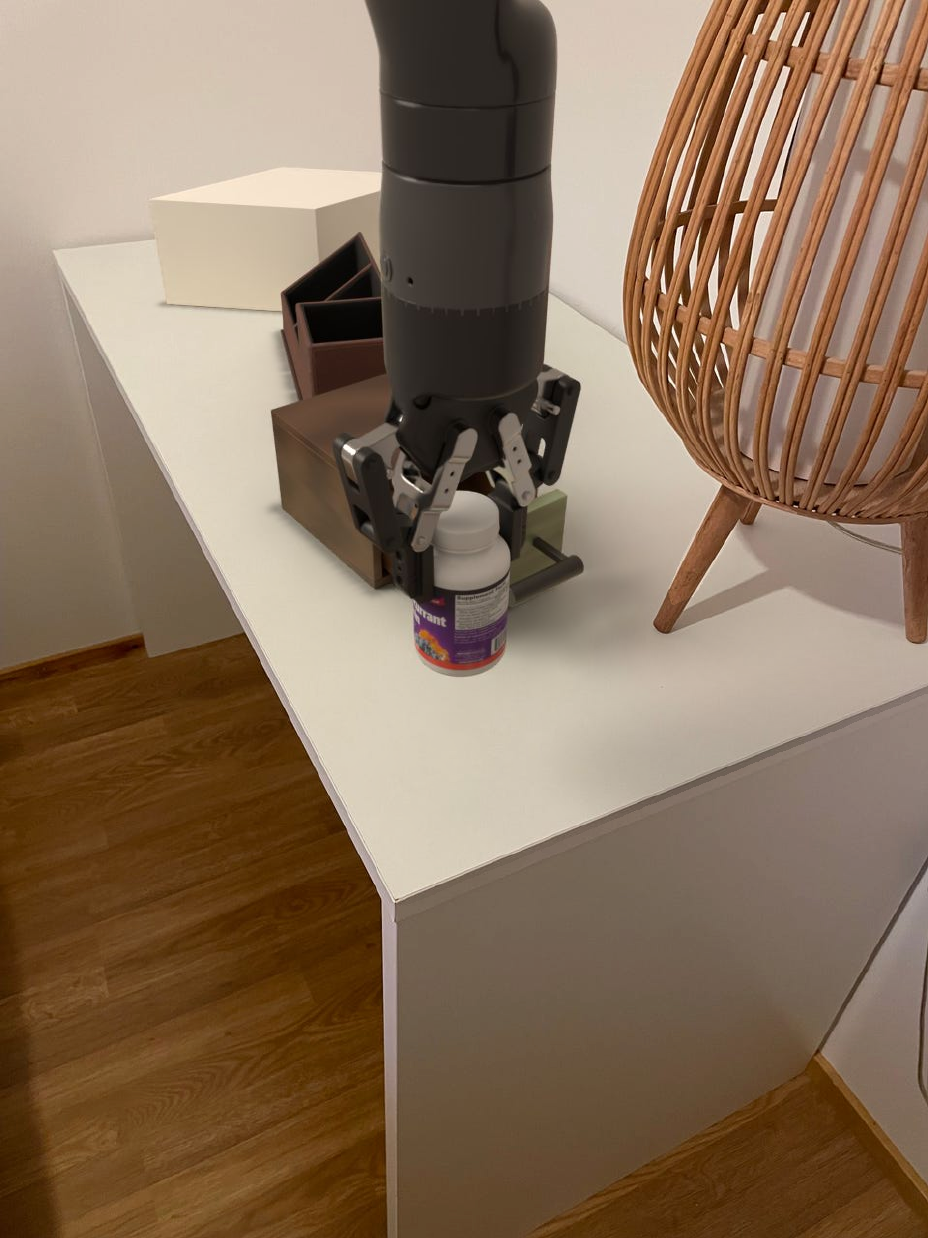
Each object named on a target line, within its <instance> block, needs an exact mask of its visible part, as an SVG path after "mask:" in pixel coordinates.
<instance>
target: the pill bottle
mask: <svg viewBox="0 0 928 1238" xmlns="http://www.w3.org/2000/svg"><path fill="white" fill-rule="evenodd" d="M498 532H499V510H498V507H497V505H496V504H495V503H494V502H493V501H492V500H491V499H490V498H488V497H486V496H484V495H482V494H479V493H476V492H470V491H456V492H455V495H454V498H453V501H452V504H451V507H450V509H449V510H447V511H443V512H442V513H441V514H440V517H439V520H438V523H437V526H436V529H435V532H434V535H433V538H432V541H431V543H430V544H431V545H432V546H434V599H433V600H431V601H429V602H427V603H425V604H423V605H420V604H418V603H417V602H416V601H415V600H413V599H412V610H413V611H412V612H413V613H412V614H413V620H412V621H413V643H414V650H415V654H416V656H417V658H419V660H420V662H421V663H422V664H423V665H425V666H426V667H427V668H428V669H429V670H431V671H433V672H435V673H437V674H440V675H443V676H447V677H451V678H466V677H467V678H468V677H469V678H470V677H475V676H478V675H482V674H484V673H487V672H488V671H490V670H491V669H493V668H494V667H496V666H497V665H498V664H499V663H500V661H501V660H502V659H503V657H504V654H505V652H506V647H507V638H508V637H507V634H508V619H509V618H508V617H509V605H508V599H509V580H510V550H509V548H508V545H507V543H506V542H505V540H504V539H503V538H502V537H501V536H500V535H499V534H498Z"/></svg>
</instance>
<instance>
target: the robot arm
mask: <svg viewBox="0 0 928 1238" xmlns="http://www.w3.org/2000/svg"><path fill="white" fill-rule="evenodd" d="M363 1H364V4H365V8H366V11H367V14H368V18H369V21H370V24H371V27H372V32H373V35H374V39H375V43H376V47H377V53H378V55H377V56H378V99H379V100H378V101H379V129H380V150H381V151H380V153H381V172H382V178H381V190H380V200H379V249H380V272H381V299H382V322H383V346H384V363H385V367H386V371H387V375H388V378H389V382H390V386H391V398H390V402H389V405H388V408H387V410H386V413H385V416H384V424H383V425H381V426H379V427H377V428H376V429H374V430H372V431H370V432H369V433H367V434H365V435H363V436H362V437H360V438H358V439H357V438H356V437H354V436H353V435H351V434H350V433H347V432H346V433H341V434H340V435H338V436H337V437H336V439H335V440H334V442H333V446H332V449H333V453H334V456H335V460H336V463H337V466H338V470H339V473H340V477H341V480H342V484H343V487H344V490H345V494H346V497H347V501H348V504H349V507H350V511H351V514H352V518H353V521H354V525H355V528H356V530H357V531H359V532H360V533H361V534H362V535H363V536H365V537H366V538H367V539H368V540H370V541H371V542H372V543H373V544H374V545H376V546H377V547H378V548H379V549H381V550H382V551H383V552H384V553H386V554H392V565H393V566H392V571H393V581H392V582H393V583H394V585H395V587H396V588H398V589H399V590H400V591H401V592H402V593H403V594H404V595H406V596H407V597H408V598H410V600H412V601H413V600H415V601H416V602H417V603H418V604H420V605H423V604H425V603H427V602H429V601H431V600H433V599H434V546H432V545H431V544H430V543H431V541H432V538H433V535H434V532H435V529H436V526H437V523H438V520H439V517H440V514H441V513H442V512H443V511H447V510H449V509H450V507H451V504H452V501H453V498H454V495H455V492H456V489H457V486H458V484H459V482H462V481H464V480H465V479H466V478H468V477H469V476H471V475H472V474H474V473H476V472H486V474H487V477H488V479H489V482H490V484H491V486H492V487H494V488H495V491H494V492H492V493H490V494H487V497H488V498H490V499H491V500H492V501H493V502H494V503H495V504H496V505H497V507H498V510H499V532H498V534H499V535H500V536H501V537H502V538H503V539H504V540H505V542H506V543H507V545H508V548H509V550H510V564H511V563H513V562H515V561H517V560H519V559H520V552H521V549H522V548H523V545H524V542H525V540H526V524H527V508H528V505H529V504H530V503H531V502H532V501H533V499H534V497H535V494H536V489H537V488H538V489H539V488H540V487H542V485H545V486H548V487H551V486H553V485H555V484H556V483H557V482H558V481H559V479H560V477H561V475H562V469H563V466H564V462H565V457H566V453H567V450H568V449H567V448H568V445H569V442H570V441H569V440H570V436H571V432H572V428H573V424H574V420H575V415H576V411H577V407H578V402H579V398H580V394H581V390H582V385H581V382H580V381H579V380H577V379H575V378H573V377H572V376H570V375H569V374H567V373H565V372H563V371H561V370H559V369H557V368H554V367H552V366H550V365H548V364H547V363H545V353H546V352H545V351H546V337H547V323H548V308H549V307H548V306H549V293H550V281H551V279H550V278H551V265H552V264H551V263H552V250H553V234H554V233H553V232H554V203H553V190H552V187H553V186H552V157H553V141H554V124H555V110H556V96H557V95H556V92H557V91H556V90H557V80H558V79H557V77H558V57H559V56H558V55H559V54H558V53H559V52H558V36H557V35H558V34H557V29H556V24H555V21H554V18H553V15H552V13H551V11H550V10H549V9H548V7H547V6H546V5H545V3H543V2H542V1H541V0H363ZM542 440H543V441H544V445H545V447H544V450H543V455H540V454H539V453H540V452H539V451H540V447H541V443H542ZM397 448H399V449H400V453H399V456H398V459H397V463H396V466H395V469H394V470H393V469H392V456H393V454H394V452H395V451H396V449H397ZM420 471H422V472H423V473H425V474H426V475H428V476H429V477H430V478H432V479H433V483H432V485H430V484H429V483H427V482H426V481H425V480H423V479H422V477H421V474H420ZM391 478H392V485H393V487H394V495H393V498H392V494H391V490H390V486H389V482H388V479H391ZM415 503H416V504H417V511H416V514H415V517H414V520H413V519H412V518H411V515H412V512H413V509H414V506H415Z"/></svg>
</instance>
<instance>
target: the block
mask: <svg viewBox="0 0 928 1238" xmlns="http://www.w3.org/2000/svg"><path fill="white" fill-rule="evenodd" d="M381 178H382V171H381V172H380V171H378V172H377V171H363V170H361V171H360V170H344V169H325V168H309V167H308V168H307V167H289V166H288V167H287V166H280V167H276V168H273V169H269V170H268V169H267V170H265V171H260V172H256V173H251V174H247V175H244V176H243V175H242V176H239V177H235V178H231V179H227V180H223V181H218V182H213V183H210V184H206V185H202V186H198V187H193V188H190V189H185V190H182V191H181V190H180V191H176V192H173V193H169V194H165V195H164V194H163V195H161V196H156V197H153V198H149V199H148V206H149V211H150V217H151V222H152V228H153V233H154V238H155V244H156V250H157V256H158V260H159V266H160V267H159V268H160V272H161V273H160V274H161V278H162V284H163V289H164V295H165V301H166V305H178V306H194V307H206V308H207V307H208V308H222V309H223V308H224V309H237V310H238V309H239V310H252V311H253V310H254V311H268V312H269V311H270V312H282V302H281V292H282V291H284V290H285V289H286V288H287V287H289V286H290V285H291V284H293V283H294V282H295V281H297V280H298V279H299V278H301V277H302V276H303V275H305V274H306V273H307V272H309V271H310V270H311V269H313V268H314V267H315V266H316V265H318V264H319V263H320V262H322V261H323V260H324V259H325V258H327V257H328V256H329V255H331V254H332V253H333V252H335V251H336V250H337V249H339V248H340V247H341V246H342V245H344V244H345V243H346V242H347V241H349V240H350V239H351V238H353V237H354V236H355V235H356V234H357V233H358V232H361V233H362V235H363V237H364V239H365V241H366V243H367V246H368V247H369V250H370V252H371V254H372V256H373V258H374V260H375V262H376V264H377V266H378V268H379V271H380V249H379V200H380V190H381ZM380 273H381V272H380Z"/></svg>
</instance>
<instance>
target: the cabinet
mask: <svg viewBox="0 0 928 1238" xmlns="http://www.w3.org/2000/svg"><path fill="white" fill-rule="evenodd" d="M390 398H391V386H390V382H389V378H388V375H387V373H386V374H383V375H380V376H377V377H373V378H370V379H367V380H364V381H361V382H358V383H354V384H351V385H348V386H345V387H342V388H339V389H336V390H332V391H329V392H326V393H323V394H320V395H317V396H313V397H310V398H307V399H304V400H301V401H298V400H297V401H295V402H291V403H288V404H285V405H282V406H279V407H276V408H272V409H270V415H271V416H270V417H271V425H272V433H273V442H274V450H275V451H274V452H275V459H276V469H277V476H278V485H279V493H280V503H281V509H283V511H285V512H286V513H287V514H288V515H290V516H291V517H292V518H293V519H294V520H295V521H296V522H297V523H299V524H300V526H302V527H303V528H304V529H305V530H307V531H308V532H309V533H310V534H311V535H312V536H314V538H316V540H318V542H320V543H321V544H322V545H324V547H326V548H327V549H328V550H329V551H330V552H332V553H333V554H334V555H335V556H336V557H337V558H338V559H340V560H341V561H342V562H343V563H344V564H345V565H346V566H347V567H348V568H349V569H351V570H352V571H353V572H354V573H355V574H357V575H358V576H359V578H360V577H361V579H362V580H364V581H365V583H367V584H368V585H369V586H370V587H372V589H374V590H377V589H379V588H382V587H384V586H386V585H387V584H390V583H393V582H394V581H393V575H392V574H390V573H389V572H388V571H387V570H386V569H384V568H383V567H382V558H381V549H379V548H378V547H377V546H376V545H374V544H373V543H372V542H371V541H370V540H368V539H367V538H366V537H365V536H363V535H362V534H361V533H360V532H359V531H357V530H356V528H355V525H354V521H353V518H352V514H351V511H350V507H349V504H348V501H347V497H346V494H345V490H344V487H343V484H342V480H341V477H340V473H339V470H338V466H337V463H336V460H335V456H334V453H333V449H332V446H333V442H334V440H335V439H336V437H337V436H338V435H340V434H341V433H346V432H347V433H350V434H351V435H353V436H354V437H356V438H357V439H358V438H360V437H362V436H363V435H365V434H367V433H369V432H370V431H372V430H374V429H376V428H377V427H379V426H381V425H383V424H384V416H385V413H386V410H387V408H388V405H389V402H390ZM399 453H400V449H399V448H397V449H396V451H395V452H394V454H393V456H392V469H393V470H394V469H395V466H396V463H397V459H398V456H399ZM420 474H421V476H422V475H425V473H423V472H422V471H420ZM388 482H389V486H390V488H391V487H393V485H392V478H391V479H388Z"/></svg>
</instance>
